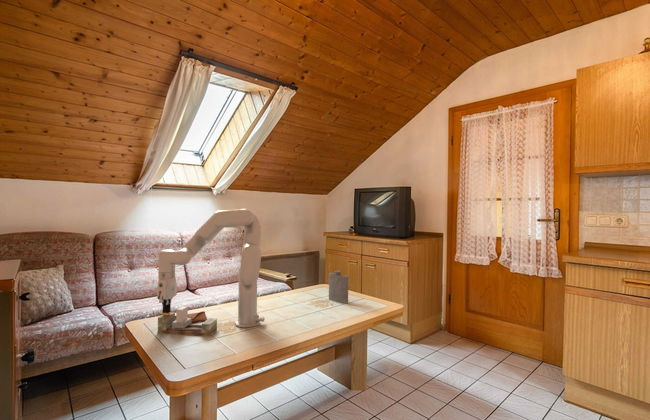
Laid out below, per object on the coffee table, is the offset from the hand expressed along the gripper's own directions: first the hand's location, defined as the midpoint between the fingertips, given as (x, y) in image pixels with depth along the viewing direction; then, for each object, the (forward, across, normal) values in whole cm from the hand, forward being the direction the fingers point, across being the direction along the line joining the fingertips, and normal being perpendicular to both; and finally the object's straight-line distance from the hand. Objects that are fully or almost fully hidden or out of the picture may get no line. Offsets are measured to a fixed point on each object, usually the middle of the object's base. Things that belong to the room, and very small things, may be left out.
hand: (166, 312), depth 164 cm
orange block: (+5, 0, 0) cm, 5 cm away
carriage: (+6, 0, -8) cm, 10 cm away
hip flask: (+9, +62, -80) cm, 102 cm away
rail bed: (+9, 0, -11) cm, 14 cm away
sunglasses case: (+10, +13, -5) cm, 17 cm away
